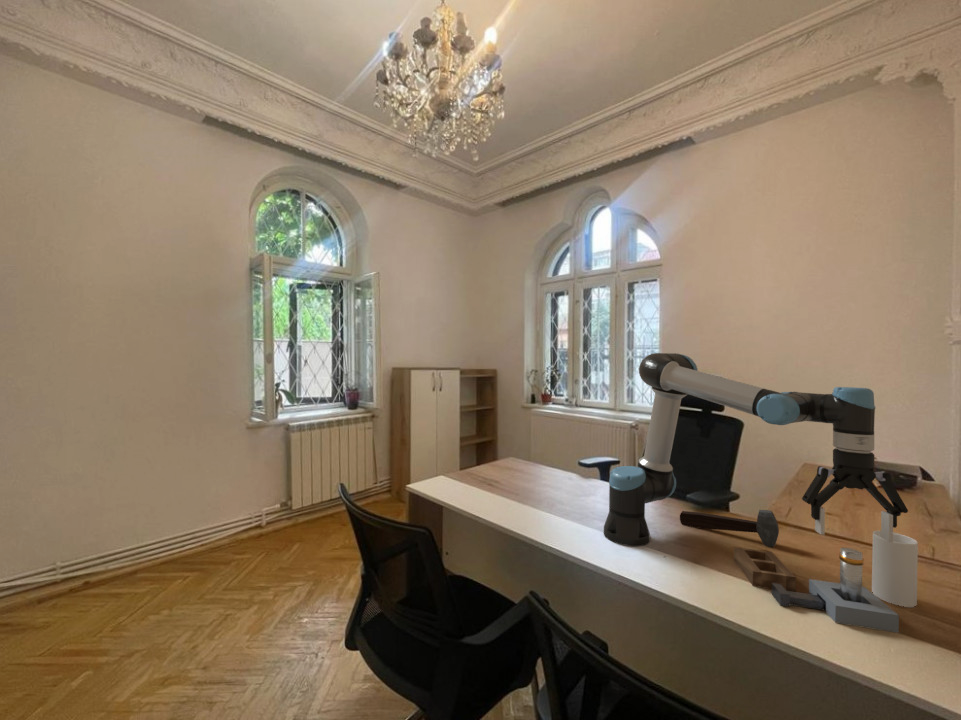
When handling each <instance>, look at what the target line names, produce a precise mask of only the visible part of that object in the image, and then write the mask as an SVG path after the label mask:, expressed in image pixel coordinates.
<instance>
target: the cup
mask: <svg viewBox="0 0 961 720" xmlns="http://www.w3.org/2000/svg"><path fill="white" fill-rule="evenodd" d="M918 547H919V543H918V540H916V539H915V538H912V537H910V536H908V535H904V534H901V533H897V532H894V531H893V543H892V542H888V541H886V540H885V539H883V538H881V530H873V531H872V555H871V557H872V558H871V559H872V561H871V563H872V564H871V565H872V566H871V567H872V569H871V571H872V572H871V593H872V592H873V593H872V594H874V595H875V596H876V597H877V598H879V599H880V600H881V601H884V602H886V603H888V604H891V603H892V605H894V606H895V605H896V606H898V605H899V607H903V606H904V608H915V607H914V606H916V605H917V606H918V563H919V561H918V557H919V556H918V555H919V554H918V552H919V551H918V550H919V548H918ZM917 606H916V607H917Z"/></svg>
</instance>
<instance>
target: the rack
mask: <svg viewBox="0 0 961 720" xmlns="http://www.w3.org/2000/svg"><path fill="white" fill-rule="evenodd" d="M733 549H734V550H733V551H734V552H733V561H734V562H735V563H736V565H737V566H738V567H739V569H740V571H741V572H742V574H743V575H744V576H745V578H746V579H747V580H748V581H749V583H750V584H751V586H752V587H758V588H764V589H771V590H772V583H776V584H781V585H782V586H783V587H784V589H785V590H786V591H792V592H797V591H796V586H797V577H796V576H795V574H793V573H792V571H790V569H789V568H788V567H787V566H786V565H785V564H784V563H783V562H782V561H781V560H780V559H779V557H777V556H776V555H775V553H773V552H772V551H767V550H761V549H752V548H745V547H738V546H734V547H733Z"/></svg>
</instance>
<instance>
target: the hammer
mask: <svg viewBox="0 0 961 720" xmlns="http://www.w3.org/2000/svg"><path fill="white" fill-rule="evenodd" d="M757 514H758V515H757V518H756V519H757V520H751V519H750V520H749V519H744V518H735V517H730V516H724V515H718V514H711V513H706V512H700V511H685V510H682V511H681V512H680V514H679V520H680V524H681V525H682V526H685V527H689V528H696V529H702V530H703V529H705V530H716V531H717V530H718V531H729V532H730V531H731V532H740V533H741V532H744V533H745V532H746V533H757V534H758V537H759V538H760V540H761V542H762V545H764V546H765V547H769V548H775V546H776V544H777V540H778V537H779V534H780V532H779V531H780V529H779V528H780V527H779V523H778V520H777V518H776V516H775V514H774V512H773V511H772V510H770V509H759V510H758V513H757Z"/></svg>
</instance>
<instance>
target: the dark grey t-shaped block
mask: <svg viewBox="0 0 961 720" xmlns="http://www.w3.org/2000/svg"><path fill="white" fill-rule="evenodd" d="M771 595H772V597H773V598H774V599H775V601H776V602H777V603H778V604H779V606H780V607H781V606H783V607H789V608H790V607H791V606H794V607H795V606H796V607H801V608H807V609H814V610H819V611H820V610H822V611H826V602H825V601H824V600H823V599H822V598H821V597H820V596H819V595H812V594H809V593H804V592H798V591H796V592H792V591H786V590H785V589H784V587H783V586H782V585H781V584H776V583H772V589H771Z"/></svg>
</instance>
